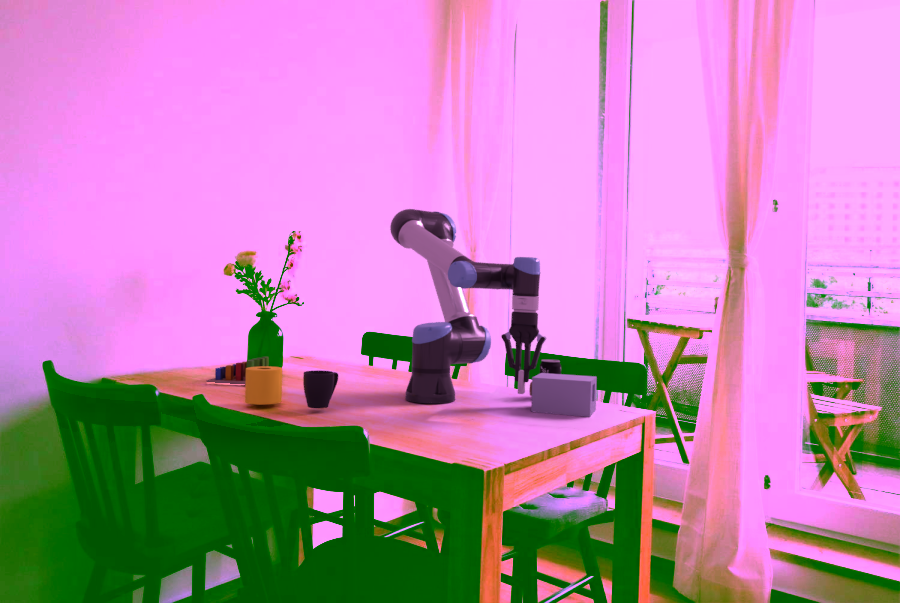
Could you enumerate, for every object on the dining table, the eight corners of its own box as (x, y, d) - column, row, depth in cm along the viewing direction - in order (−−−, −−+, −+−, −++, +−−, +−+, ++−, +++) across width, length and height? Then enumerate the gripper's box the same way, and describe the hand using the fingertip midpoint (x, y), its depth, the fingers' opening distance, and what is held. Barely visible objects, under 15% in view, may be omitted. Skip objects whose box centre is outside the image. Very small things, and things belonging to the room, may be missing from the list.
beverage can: (559, 400, 206) (560, 361, 206) (538, 399, 208) (539, 360, 207) (560, 397, 213) (561, 359, 212) (539, 396, 214) (540, 358, 214)
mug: (348, 404, 189) (348, 370, 189) (319, 410, 179) (320, 374, 179) (325, 401, 194) (326, 368, 194) (296, 407, 183) (297, 372, 183)
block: (531, 411, 186) (532, 377, 185) (540, 405, 197) (541, 372, 197) (589, 416, 180) (591, 381, 180) (595, 409, 192) (596, 376, 191)
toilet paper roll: (266, 397, 198) (266, 365, 198) (288, 401, 192) (289, 368, 192) (237, 401, 190) (238, 368, 190) (260, 405, 184) (261, 371, 184)
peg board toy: (231, 378, 241) (231, 354, 241) (277, 380, 238) (277, 356, 238) (205, 384, 223) (206, 359, 223) (254, 387, 220) (255, 361, 220)
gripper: (499, 310, 191) (495, 393, 192) (545, 312, 187) (541, 397, 187) (505, 309, 198) (502, 389, 199) (549, 312, 194) (546, 393, 195)
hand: (521, 393), depth 193 cm, fingers closed
